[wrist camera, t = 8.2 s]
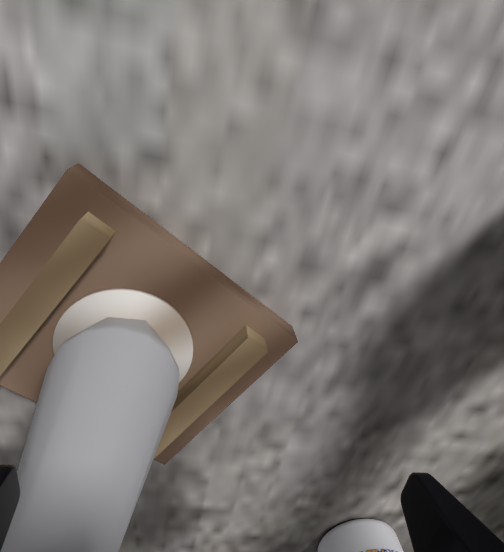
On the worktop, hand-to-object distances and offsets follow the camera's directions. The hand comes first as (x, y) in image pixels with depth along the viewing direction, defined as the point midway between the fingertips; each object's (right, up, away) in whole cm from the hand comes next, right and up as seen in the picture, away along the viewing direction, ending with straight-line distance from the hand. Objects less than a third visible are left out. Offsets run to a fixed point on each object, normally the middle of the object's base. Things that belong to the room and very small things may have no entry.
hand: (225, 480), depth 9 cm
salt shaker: (-6, +1, +11) cm, 12 cm away
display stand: (-6, +2, +12) cm, 14 cm away
